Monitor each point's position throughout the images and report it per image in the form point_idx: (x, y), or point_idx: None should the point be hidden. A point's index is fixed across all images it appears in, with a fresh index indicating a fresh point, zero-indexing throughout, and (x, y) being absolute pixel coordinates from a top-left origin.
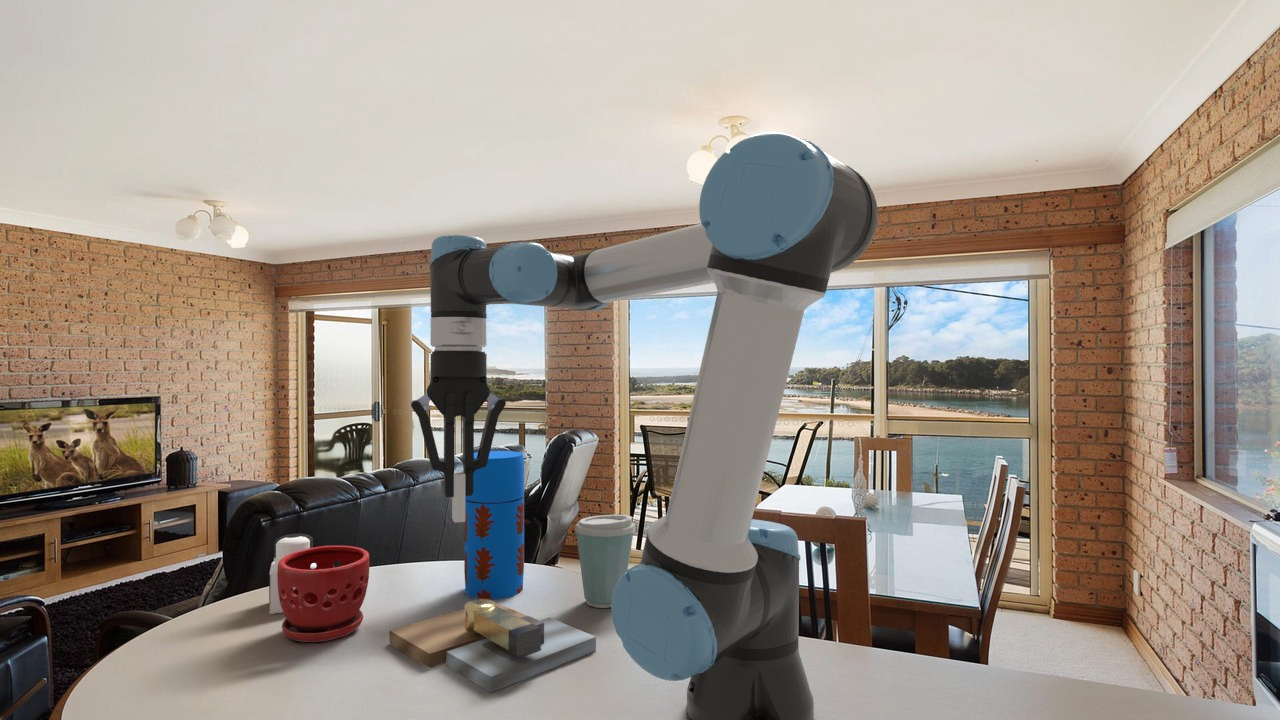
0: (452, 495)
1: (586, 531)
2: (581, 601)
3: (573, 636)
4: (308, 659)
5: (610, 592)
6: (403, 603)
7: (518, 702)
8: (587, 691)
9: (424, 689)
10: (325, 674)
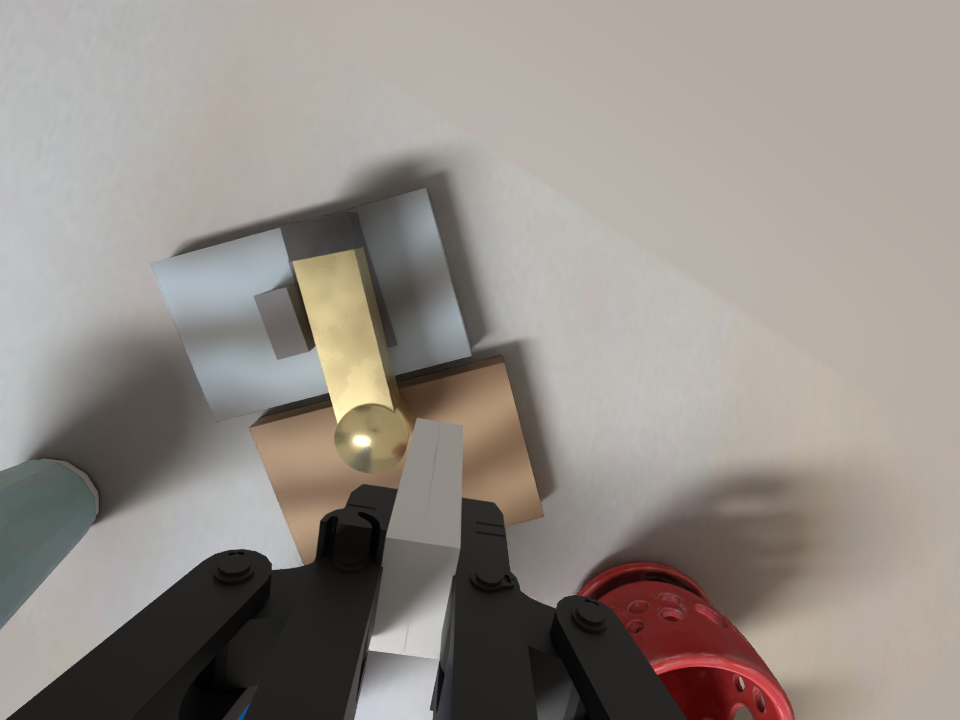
0: (464, 500)
1: None
2: (107, 526)
3: (197, 292)
4: (682, 503)
5: (25, 470)
6: None
7: (393, 120)
8: (251, 87)
9: (534, 272)
10: (671, 425)
